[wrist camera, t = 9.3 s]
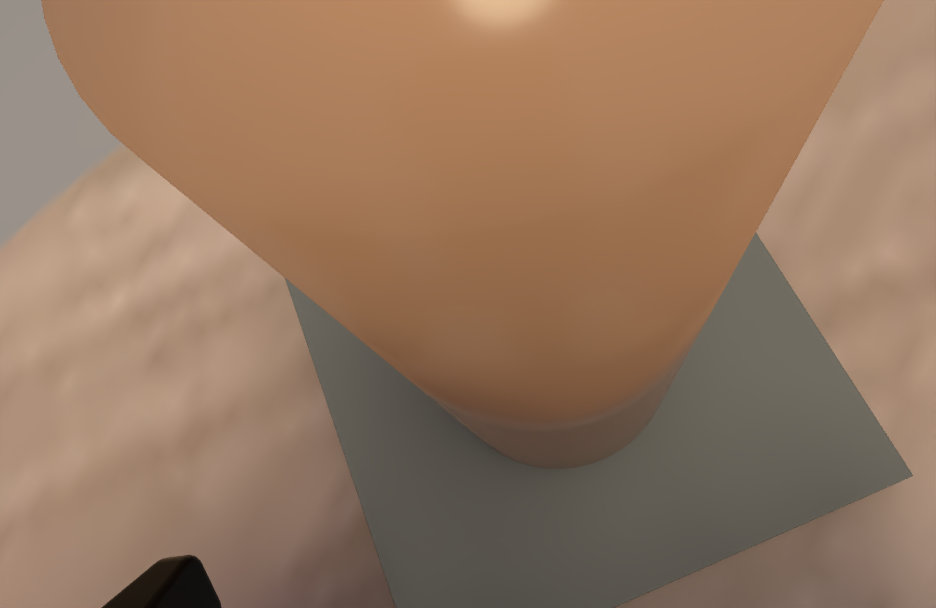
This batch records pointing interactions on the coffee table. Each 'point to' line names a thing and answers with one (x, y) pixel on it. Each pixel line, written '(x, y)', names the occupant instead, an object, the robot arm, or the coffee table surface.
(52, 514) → the coffee table surface
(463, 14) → the tan domed cylinder
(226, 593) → the coffee table surface
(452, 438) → the slate mat
